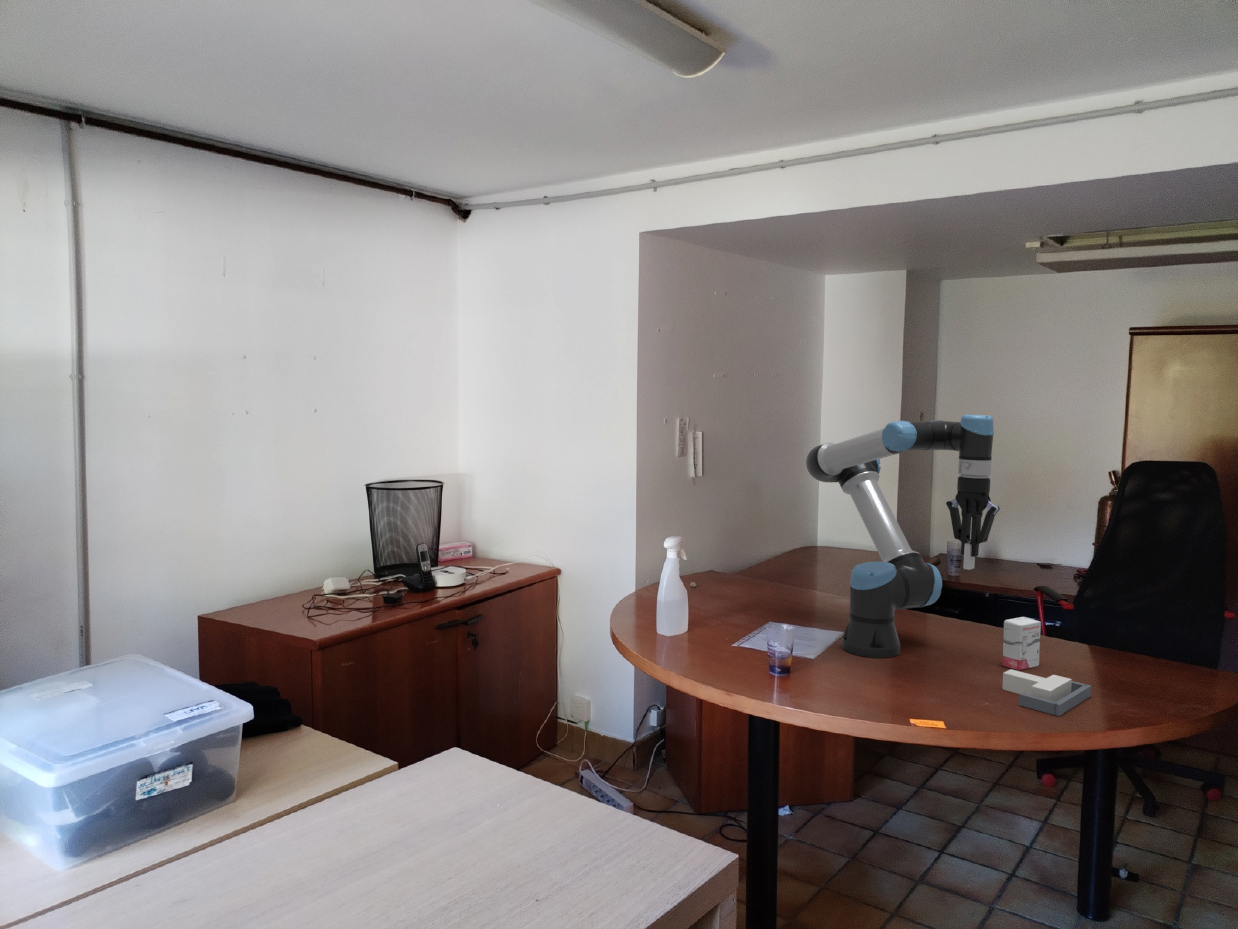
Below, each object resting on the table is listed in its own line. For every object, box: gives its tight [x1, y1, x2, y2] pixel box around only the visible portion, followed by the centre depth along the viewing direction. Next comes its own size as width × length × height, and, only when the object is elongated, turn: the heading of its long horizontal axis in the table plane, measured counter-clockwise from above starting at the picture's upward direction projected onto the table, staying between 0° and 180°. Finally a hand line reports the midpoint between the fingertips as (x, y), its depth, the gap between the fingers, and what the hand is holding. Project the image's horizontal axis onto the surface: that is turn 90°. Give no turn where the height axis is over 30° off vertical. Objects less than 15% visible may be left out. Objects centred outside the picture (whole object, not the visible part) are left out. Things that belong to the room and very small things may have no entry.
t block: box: [1002, 668, 1073, 702], centre depth 182 cm, size 12×12×4 cm
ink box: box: [1002, 616, 1042, 671], centre depth 202 cm, size 9×5×12 cm, turn 118°
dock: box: [1018, 680, 1092, 717], centre depth 178 cm, size 8×18×2 cm, turn 131°
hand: (968, 568), depth 200 cm, fingers closed
